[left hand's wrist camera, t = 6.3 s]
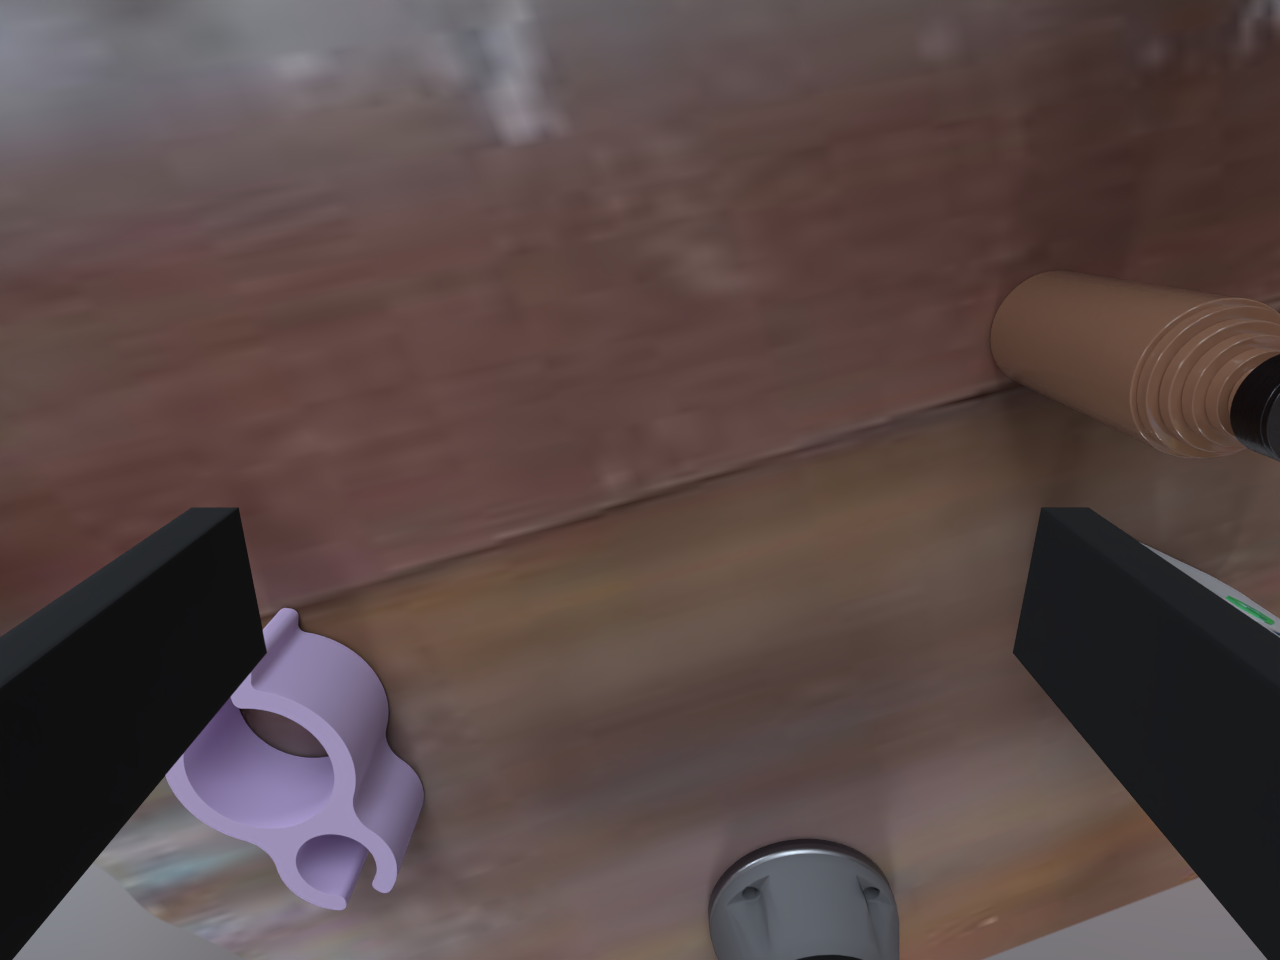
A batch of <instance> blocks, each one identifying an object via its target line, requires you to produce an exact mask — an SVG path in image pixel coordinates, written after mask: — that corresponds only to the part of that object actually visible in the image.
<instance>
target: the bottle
mask: <svg viewBox="0 0 1280 960" xmlns="http://www.w3.org/2000/svg"><path fill="white" fill-rule="evenodd" d="M990 344H991V351H992V355H993V357H994V360H995V362H996V364H997V366H998V367H999V369H1000V370H1001V371H1002V372H1003V373H1004V374H1005V375H1006V376H1007V377H1008V378H1010V379H1011V380H1013V381H1014V382H1016V383H1018V384H1020V385H1023V386H1025V387H1027V388H1029V389H1031V390H1033V391H1035V392H1037V393H1039V394H1042V395H1044V396H1046V397H1048V398H1050V399H1052V400H1054V401H1056V402H1058V403H1060V404H1063V405H1065V406H1067V407H1069V408H1071V409H1073V410H1075V411H1077V412H1079V413H1081V414H1084V415H1086V416H1088V417H1090V418H1092V419H1094V420H1096V421H1098V422H1100V423H1103V424H1105V425H1107V426H1109V427H1111V428H1113V429H1115V430H1117V431H1119V432H1121V433H1124V434H1126V435H1128V436H1130V437H1132V438H1134V439H1136V440H1138V441H1140V442H1143V443H1145V444H1147V445H1149V446H1151V447H1153V448H1155V449H1157V450H1159V451H1161V452H1164V453H1166V454H1169V455H1172V456H1177V457H1182V458H1217V457H1222V456H1227V455H1230V454H1234V453H1237V452H1239V451H1242V450H1244V449H1246V448H1247V447H1245V446H1244V445H1243V444H1241V443H1240V441H1239V440H1238V439H1237V438H1236V436H1235V435H1234V433H1233V430H1232V427H1231V423H1230V409H1231V404H1232V401H1233V398H1234V395H1235V393H1236V391H1237V389H1238V388H1239V386H1240V384H1241V383H1242V382H1243V380H1244V379H1245V378H1246V376H1247V375H1248V374H1249V373H1250V372H1251V371H1252V370H1254V369H1255V368H1256V367H1257V366H1258V365H1260V364H1261V363H1263V362H1264V361H1266V360H1268V359H1269V358H1271V357H1274V356H1276V355H1278V354H1280V314H1279V313H1278V312H1277V311H1276V310H1274V309H1273V308H1271V307H1270V306H1268V305H1266V304H1264V303H1262V302H1259V301H1256V300H1252V299H1247V298H1241V297H1235V296H1229V295H1222V294H1216V293H1209V292H1203V291H1197V290H1190V289H1184V288H1177V287H1171V286H1164V285H1158V284H1152V283H1145V282H1139V281H1132V280H1126V279H1120V278H1113V277H1107V276H1100V275H1094V274H1088V273H1081V272H1075V271H1068V270H1052V271H1047V272H1043V273H1040V274H1037V275H1035V276H1033V277H1031V278H1029V279H1027V280H1025V281H1024V282H1022V283H1021V284H1019V285H1018V286H1017V287H1016V288H1014V289H1013V290H1012V291H1011V292H1010V293H1009V294H1008V296H1007V297H1006V298H1005V299H1004V301H1003V302H1002V304H1001V305H1000V307H999V308H998V311H997V313H996V315H995V317H994V320H993V323H992V328H991V335H990Z"/></svg>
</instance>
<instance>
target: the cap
mask: <svg viewBox="0 0 1280 960" xmlns="http://www.w3.org/2000/svg"><path fill="white" fill-rule="evenodd" d="M1230 423H1231V427H1232V430H1233V433H1234V435H1235V436H1236V438H1237V439H1238V440H1239V441H1240V443H1241V444H1243V445H1244V446H1245V447H1247V448H1249V449H1250V450H1253V451H1255V452H1257V453H1260V454H1262V455H1265V456H1267V457H1270V458H1272V459H1275V460H1277V461H1280V354H1278V355H1276V356H1274V357H1271V358H1269V359H1268V360H1266V361H1264V362H1263V363H1261V364H1260V365H1258V366H1257V367H1256V368H1255V369H1254V370H1252V371H1251V372H1250V373H1249V374H1248V375H1247V376H1246V378H1245V379H1244V380H1243V382H1242V383H1241V384H1240V386H1239V388H1238V389H1237V391H1236V393H1235V395H1234V398H1233V401H1232V404H1231V409H1230Z"/></svg>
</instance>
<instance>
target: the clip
mask: <svg viewBox="0 0 1280 960" xmlns="http://www.w3.org/2000/svg"><path fill="white" fill-rule="evenodd" d="M298 620H299V615H298V613H297V612H296V611H295V610H293V609H290V608H283V609H281V610H280V611H279V612H278V613H277V614H276V615H275V617H274V618H273V619H272V620H271V621H270V622H269V623H268V624H267V626H266V627H265V628H264V629H263V635H264V640H265V645H266V650H267V654H266V655H265V656H264V657H263V658H262V660H261V661H260V662H259V663H258V664H257V666H256V667H255V668H254V669H253V670H252V672H251V673H250V674H249V675H248V676H247V678H246V679H245V680H244V681H243V682H242V684H241V685H240V686H239V687H238V688H237V690H236V691H235V692H234V693H233V694H232V696H231V697H230V698H229V699H228V700H227V702H226V703H225V704H224V705H223V707H222V708H221V709H220V710H219V711H218V713H217V714H216V715H215V716H214V717H213V719H212V720H211V721H210V722H209V723H208V725H207V726H206V727H205V728H204V729H203V731H202V732H201V733H200V734H199V735H198V737H197V738H196V739H195V740H194V741H193V743H192V744H191V745H190V746H189V747H188V749H187V750H186V751H185V752H184V753H183V755H182V756H181V757H180V758H179V760H178V761H177V762H176V763H175V764H174V766H173V767H172V768H171V769H170V770H169V772H168V773H167V774H166V775H165V776H166V778H167V781H168V783H169V785H170V787H171V789H172V791H173V792H174V794H175V795H176V797H177V798H178V799H179V800H180V802H181V803H182V804H183V805H184V806H185V807H186V808H187V809H188V810H189V811H190V812H191V813H192V814H193V815H194V816H196V817H197V818H198V819H200V820H201V821H202V822H204V823H205V824H207V825H208V826H210V827H212V828H214V829H216V830H217V831H219V832H222V833H224V834H226V835H229V836H231V837H234V838H237V839H241V840H244V841H247V842H250V843H253V844H255V845H257V846H258V847H260V848H262V849H263V850H264V851H265V852H267V853H268V854H269V855H270V857H271V858H272V859H273V861H274V863H275V865H276V867H277V870H278V873H279V875H280V877H281V879H282V880H283V882H284V883H285V884H286V885H287V887H288V888H289V889H290V890H291V891H292V892H294V893H295V894H296V895H297V896H299V897H300V898H302V899H304V900H305V901H307V902H309V903H312V904H314V905H317V906H320V907H323V908H327V909H333V910H343V909H345V908H346V906H347V903H348V901H349V898H350V896H351V894H352V891H353V889H354V886H355V884H356V882H357V879H358V877H359V874H360V872H361V870H362V867H363V865H364V862H365V860H366V858H367V855H368V853H369V851H370V852H371V854H372V855H373V857H374V859H375V861H376V865H377V873H376V875H375V878H374V880H373V883H372V886H373V887H374V889H376V890H377V891H379V892H382V893H387V892H389V891H390V890H391V889H392V887H393V885H394V883H395V881H396V878H397V875H398V872H399V869H400V867H401V864H402V861H403V858H404V856H405V853H406V850H407V847H408V845H409V842H410V839H411V836H412V833H413V831H414V828H415V825H416V822H417V820H418V817H419V814H420V811H421V809H422V806H423V801H424V791H423V787H422V784H421V781H420V779H419V777H418V776H417V774H416V773H415V771H414V770H413V769H412V768H411V767H410V766H409V765H408V764H407V763H405V762H404V761H403V760H401V759H400V758H398V757H397V756H396V755H395V754H394V753H393V752H392V750H391V749H390V747H389V745H388V743H387V740H386V728H387V724H388V715H389V709H388V701H387V697H386V693H385V691H384V688H383V686H382V684H381V682H380V680H379V678H378V677H377V675H376V674H375V672H374V671H373V670H372V668H371V667H370V666H369V665H368V664H367V663H366V662H365V661H364V660H363V659H362V658H361V657H360V656H358V655H357V654H356V653H355V652H353V651H352V650H350V649H349V648H347V647H346V646H344V645H342V644H340V643H338V642H336V641H334V640H332V639H329V638H326V637H324V636H320V635H317V634H313V633H307V632H303V631H302V630H301V629H300V628H299V626H298ZM239 708H242V709H259V710H265V711H270V712H274V713H277V714H280V715H282V716H285V717H287V718H289V719H291V720H293V721H295V722H297V723H298V724H300V725H302V726H303V727H304V728H306V729H307V730H308V731H309V732H311V733H312V734H313V735H314V736H315V737H316V738H317V739H318V740H319V742H320V743H321V744H322V745H323V747H324V748H325V750H326V752H327V753H328V755H329V756H328V757H321V758H306V757H298V756H294V755H290V754H287V753H284V752H282V751H279V750H277V749H275V748H273V747H271V746H270V745H268V744H267V743H265V742H264V741H262V740H261V739H260V738H259V737H258V736H256V735H255V734H254V733H253V731H252V730H251V729H250V728H249V727H248V725H247V724H246V722H245V721H244V719H243V717H242V715H241V712H240V710H239Z"/></svg>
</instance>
